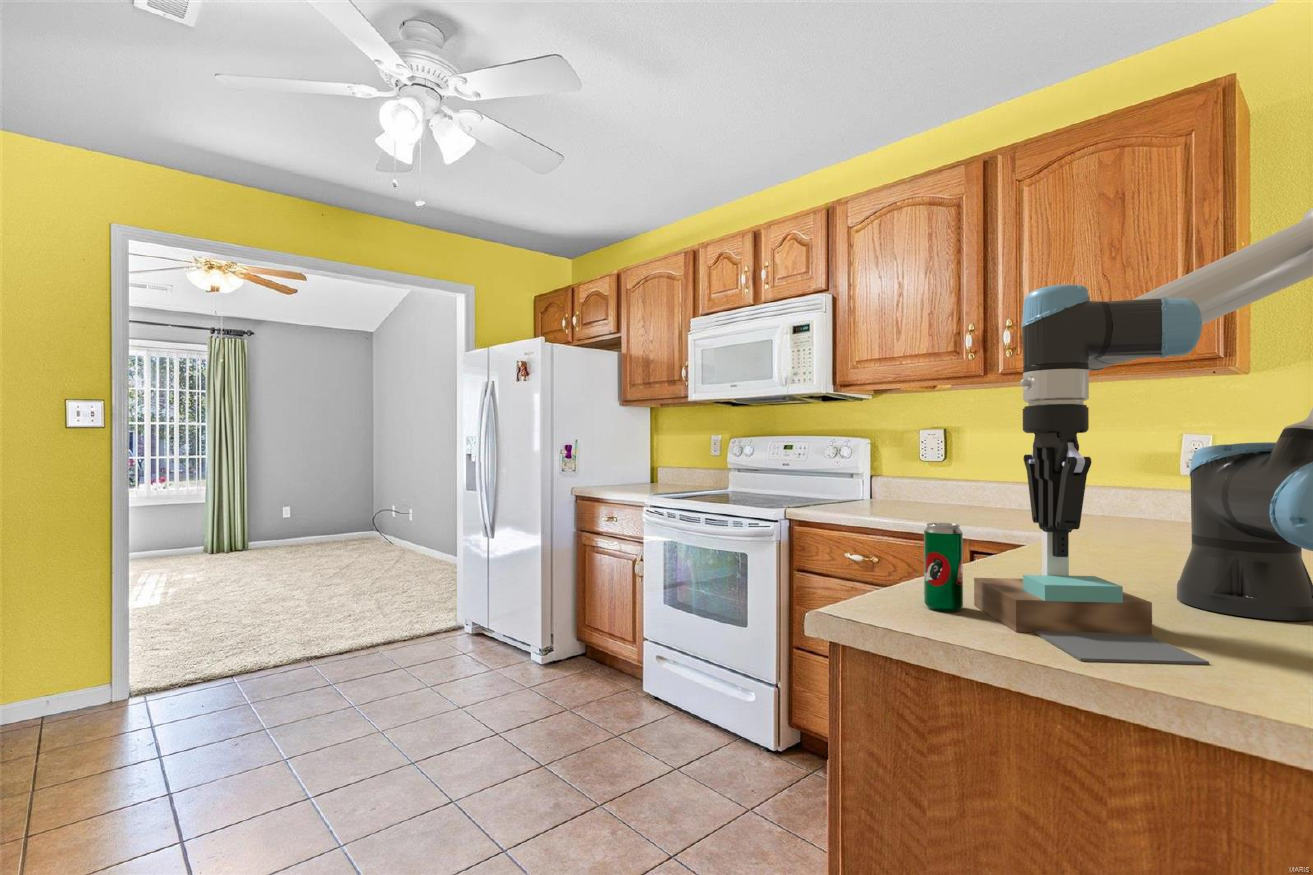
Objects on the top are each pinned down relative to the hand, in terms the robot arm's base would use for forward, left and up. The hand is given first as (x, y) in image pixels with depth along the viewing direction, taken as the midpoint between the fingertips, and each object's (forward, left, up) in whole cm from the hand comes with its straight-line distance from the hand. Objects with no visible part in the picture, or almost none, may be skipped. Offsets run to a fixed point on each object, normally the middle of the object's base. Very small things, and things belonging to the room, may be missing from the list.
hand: (1055, 579), depth 86 cm
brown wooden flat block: (0, 0, -5) cm, 5 cm away
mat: (-1, +12, -5) cm, 13 cm away
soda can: (+13, -5, -6) cm, 15 cm away
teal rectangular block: (0, +4, -1) cm, 4 cm away
